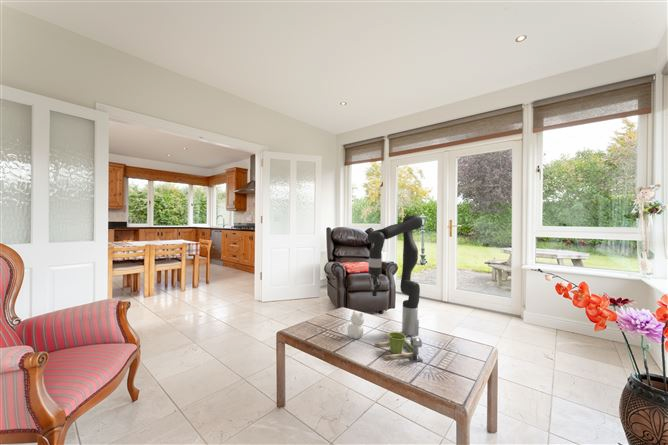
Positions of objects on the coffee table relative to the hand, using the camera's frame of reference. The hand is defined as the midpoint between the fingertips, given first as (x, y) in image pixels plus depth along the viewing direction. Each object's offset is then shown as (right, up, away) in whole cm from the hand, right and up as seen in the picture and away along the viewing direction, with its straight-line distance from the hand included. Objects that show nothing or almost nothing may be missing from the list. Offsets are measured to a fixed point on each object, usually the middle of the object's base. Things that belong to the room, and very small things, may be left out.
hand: (374, 295), depth 154 cm
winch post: (+17, -27, -19) cm, 37 cm away
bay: (+10, -27, -11) cm, 31 cm away
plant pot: (+10, -27, -11) cm, 31 cm away
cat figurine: (-11, -27, +6) cm, 30 cm away
